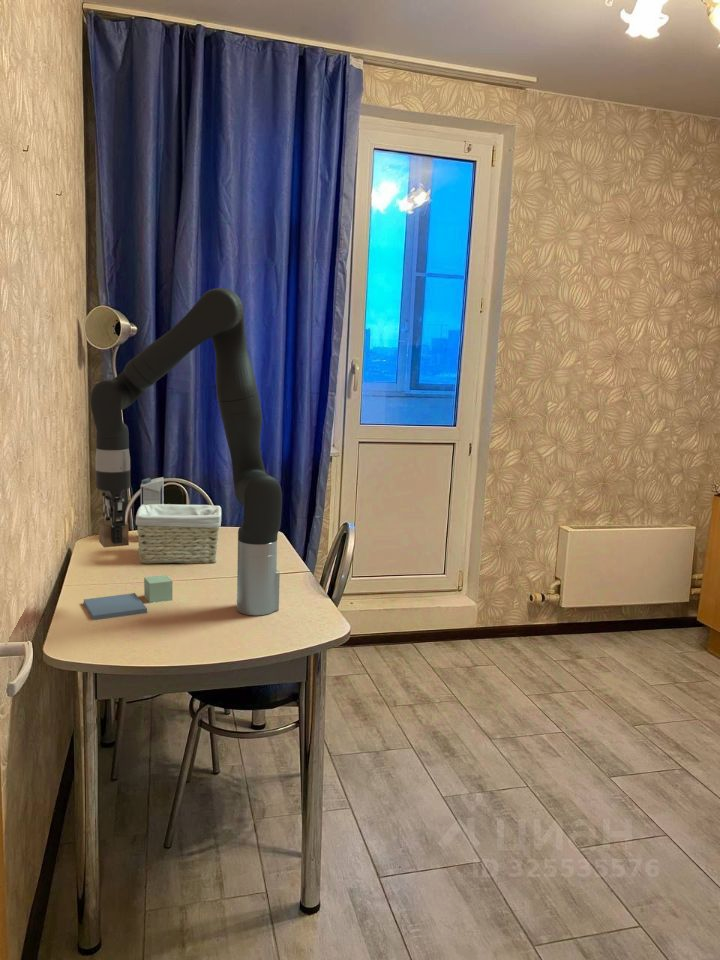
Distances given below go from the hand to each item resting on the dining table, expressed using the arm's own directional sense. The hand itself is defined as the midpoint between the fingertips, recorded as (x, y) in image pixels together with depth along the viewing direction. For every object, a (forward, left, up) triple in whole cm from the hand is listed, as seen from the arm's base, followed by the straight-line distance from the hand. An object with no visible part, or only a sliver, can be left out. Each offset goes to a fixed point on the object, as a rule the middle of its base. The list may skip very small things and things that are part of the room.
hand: (114, 539), depth 172 cm
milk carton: (-24, -59, -17) cm, 66 cm away
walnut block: (0, 0, -1) cm, 1 cm away
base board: (0, 0, -17) cm, 17 cm away
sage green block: (-11, -3, -17) cm, 20 cm away
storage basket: (-26, -36, -17) cm, 48 cm away
